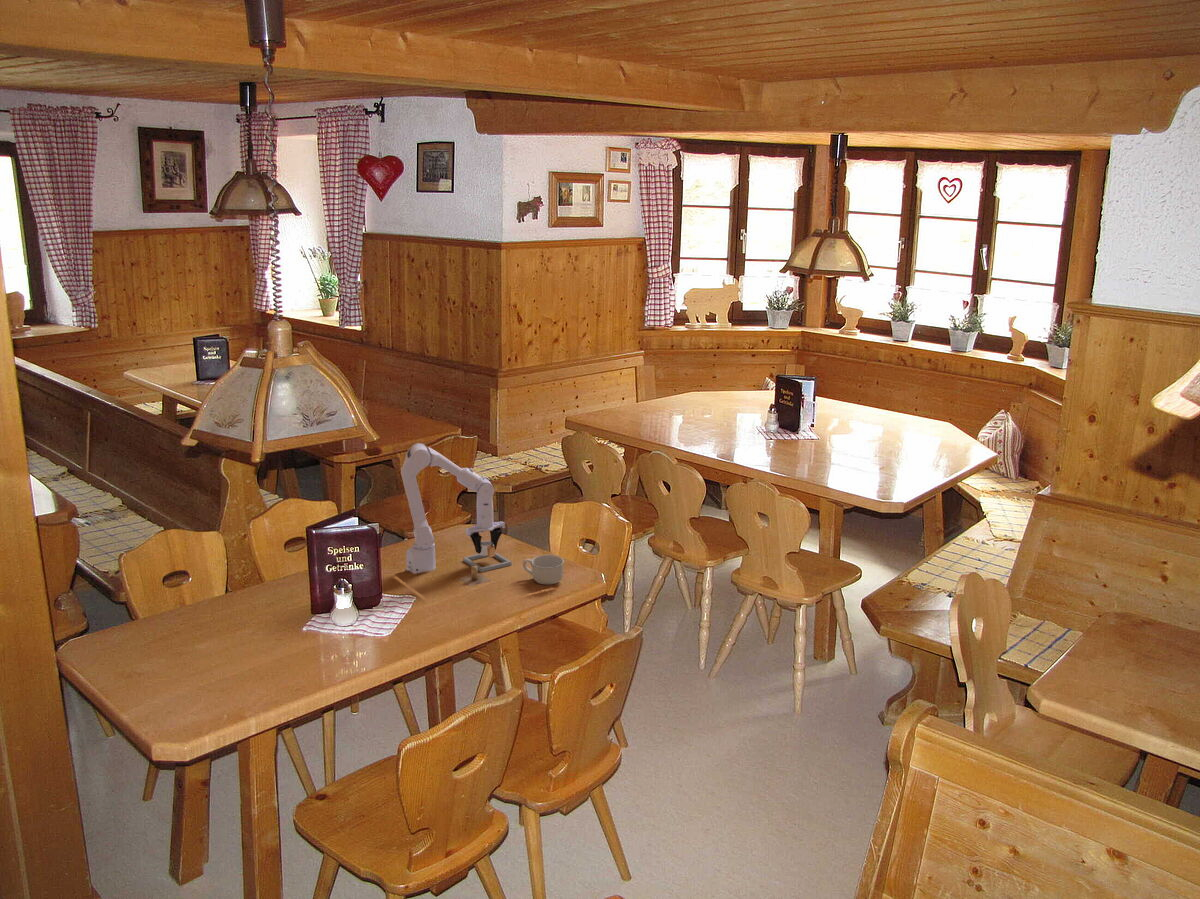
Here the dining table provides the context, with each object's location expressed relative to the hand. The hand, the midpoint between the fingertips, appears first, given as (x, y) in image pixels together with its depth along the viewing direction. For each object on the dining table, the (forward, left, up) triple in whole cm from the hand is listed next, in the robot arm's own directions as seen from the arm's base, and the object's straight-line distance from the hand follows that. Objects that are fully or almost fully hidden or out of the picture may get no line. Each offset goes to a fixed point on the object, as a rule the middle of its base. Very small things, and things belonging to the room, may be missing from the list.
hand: (486, 550), depth 345 cm
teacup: (+8, -25, -5) cm, 27 cm away
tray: (0, -1, -5) cm, 5 cm away
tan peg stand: (-11, -12, -5) cm, 17 cm away
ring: (0, 0, -1) cm, 1 cm away
